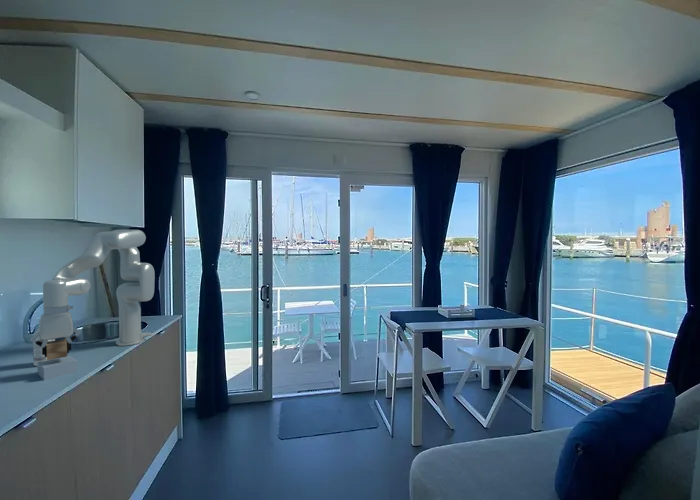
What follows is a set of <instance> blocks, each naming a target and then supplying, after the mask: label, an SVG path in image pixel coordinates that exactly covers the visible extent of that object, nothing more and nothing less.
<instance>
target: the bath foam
mask: <svg viewBox="0 0 700 500" xmlns="http://www.w3.org/2000/svg"><path fill="white" fill-rule="evenodd" d="M39 325H40V318H39V319H38V326H39ZM38 332H39V327H38V328H37V330H36V331H35V332H34V334H33V336H34V335H35V334H36V333H38ZM36 339H37V340H39V341H41V342H43V340H40V337H37V338H36ZM55 340H56V339H51V340H48V341H55ZM48 341H47V342H48ZM46 346H47V343H46ZM32 352H33V353H32V354H33V355H32V357H33V358H32V359H33V366H35V367H38V362H42V361H47V357H45V355H42V347H41V346H39V345H37V344H35V343H33V342H32Z"/></svg>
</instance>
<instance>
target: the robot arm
mask: <svg viewBox="0 0 700 500" xmlns="http://www.w3.org/2000/svg"><path fill="white" fill-rule="evenodd" d="M146 239H147V236H146V234H145V232H144V231H143V230H140V229H115V230H111V231H100V232H97V234H95V235H94V237H93V238H92V239H91V240H90V241H89V243H88V245H87V246H86V248H85V249H84V250H83V252H82V253H81V254H80V255H79V256H77V257H76V258H74V259H72V260H71V261H69V262H67V263H66V264H64V265H63V266H62V267H61V268H60V269H59V270H58V271H57V272H56V273H55V275H54V276H53V277H52V279H51V280H45V281H44V282H43V284H42V301H43V302H42V304H43V305H42V309H43V312H42V313H43V314H41V315H40V318H39V319H40V325H39V324H38V328H39V332H38V333H36V334H35V333H34V334H35V335H34V334H33V336H32V337H31V338H30V340H29V341H30V342H31V343H32V344H33V343H35V344H37V345H39V346H41V347H42V355H45V357H47V346H46V343H47V341H48V340H51V339H55V340H59V339H62V338H64V339H66V340H67V354H70V351H71V350H72V343H73V342H74V341H75V340H76V339H77V337H79V336H80V335H81V334H82V331H81V330H79V329H78V328H77V327H74V323H73V322H74V321H73V316H72V312H71V311H70V310H74V305H69V296H70V297H71V296H82V295H85V294H86V293H88V292H89V291H90V290H91V288H92V287H91V286H92V285H91V282H90V281H89V280H88V279H86V278H84V277H76V276H78V275H80V274H81V273H84V272H87V271H89V270H92V269H94V268H97V267H99V266H101V265H102V264H103V263H104V261H105V260H106V258H107V256H108V255H109V253H110V252H111V251H112V250H118V252H119V255H120V262H119V263H120V267H119V269H120V272H119V273H120V278H121V279H122V280H123V281H124V280H125V281H137V282H126V283H122V284H120V285H119V286H118V287H117V288H116V291H115V295H116V300H117V303H118V326H119V327H118V329H119V339H118V340H116V341H115V345H116V346H120V347H121V346H122V347H124V346H125V347H126V346H127V347H128V346H133V345H137V344H140V343H143V342H144V341H145V337H146V338H147V337H152V332H151V331H150V332H142V326H141V325H142V321H141V320H142V319H141V318H142V317H141V316H142V315H141V314H142V313H141V311H142V310H141V309H142V308H141V305H140V304H139V302H148V301H151V300H152V298H153V297H154V295H155V281H156V280H155V279H156V277H155V275H156V274H155V269H154V266H153V265H152V264H151V263H149V262H141V258H140V257H141V256H140V250H139V249H138V247H140V246H142V245H144V244H145V242H146ZM74 333H75V334H74ZM37 337H40V340H43V342H41V341H39V340H37V339H36V338H37Z"/></svg>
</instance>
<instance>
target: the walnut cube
mask: <svg viewBox="0 0 700 500" xmlns="http://www.w3.org/2000/svg"><path fill="white" fill-rule="evenodd" d="M67 356H68V353H67V340H66V338H64V339H62V338H60V339H55V341H48V342H47V360H51V359H56V358H62V357H67Z"/></svg>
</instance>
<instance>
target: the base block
mask: <svg viewBox="0 0 700 500" xmlns="http://www.w3.org/2000/svg"><path fill="white" fill-rule="evenodd" d="M77 372H78V360H77V359H75V358H74V357H72V356H71V355H67V357H62V358H56V359H51V360H47V361H42V362H38V366H37V375H38V376H39V377H40V378H41V379H42V380H43V381H47V380H52V379H54V378H59V377H63V376H66V375H70V374H73V373H74V374H75V373H77Z"/></svg>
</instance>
